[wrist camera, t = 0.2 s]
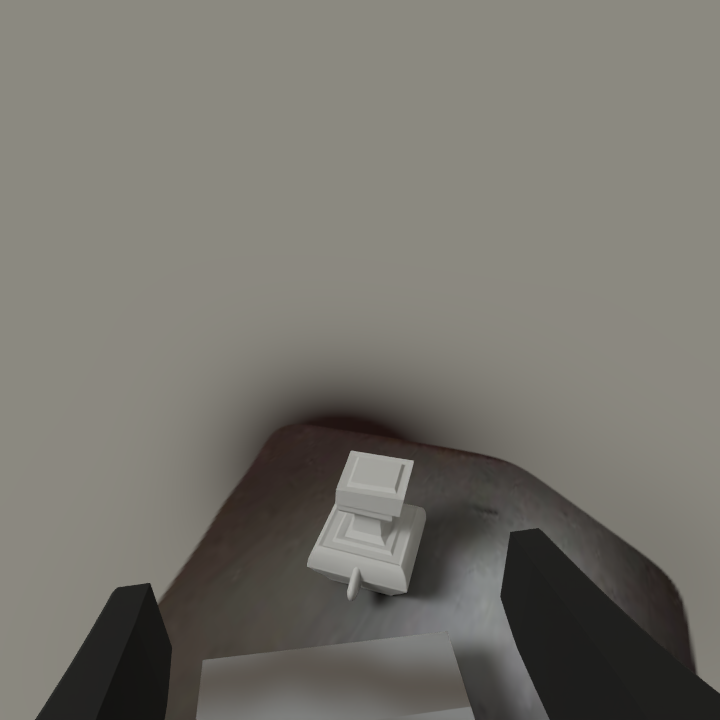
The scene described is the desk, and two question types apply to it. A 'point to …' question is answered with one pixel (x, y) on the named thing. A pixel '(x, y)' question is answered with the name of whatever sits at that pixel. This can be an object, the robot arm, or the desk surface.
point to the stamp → (370, 528)
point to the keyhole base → (339, 683)
